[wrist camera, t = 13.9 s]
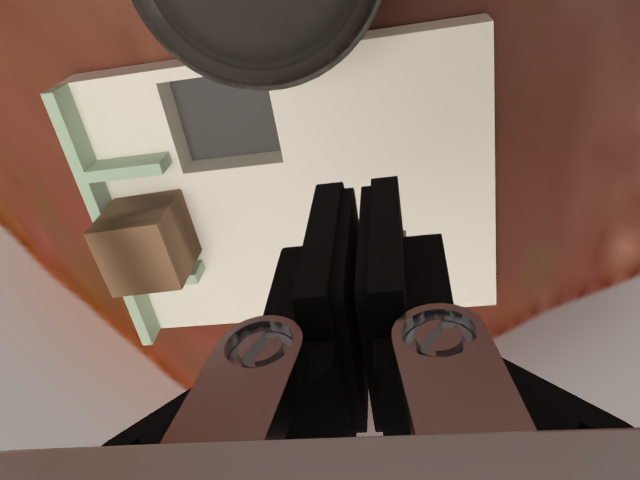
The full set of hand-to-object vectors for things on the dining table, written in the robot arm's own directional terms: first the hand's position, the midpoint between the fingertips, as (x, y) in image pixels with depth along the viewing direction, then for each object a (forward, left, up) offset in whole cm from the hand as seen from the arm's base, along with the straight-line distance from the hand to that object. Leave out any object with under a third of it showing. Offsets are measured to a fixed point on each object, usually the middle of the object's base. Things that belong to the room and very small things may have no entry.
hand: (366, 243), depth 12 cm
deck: (+7, +11, -27) cm, 30 cm away
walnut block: (+17, +12, -25) cm, 32 cm away
